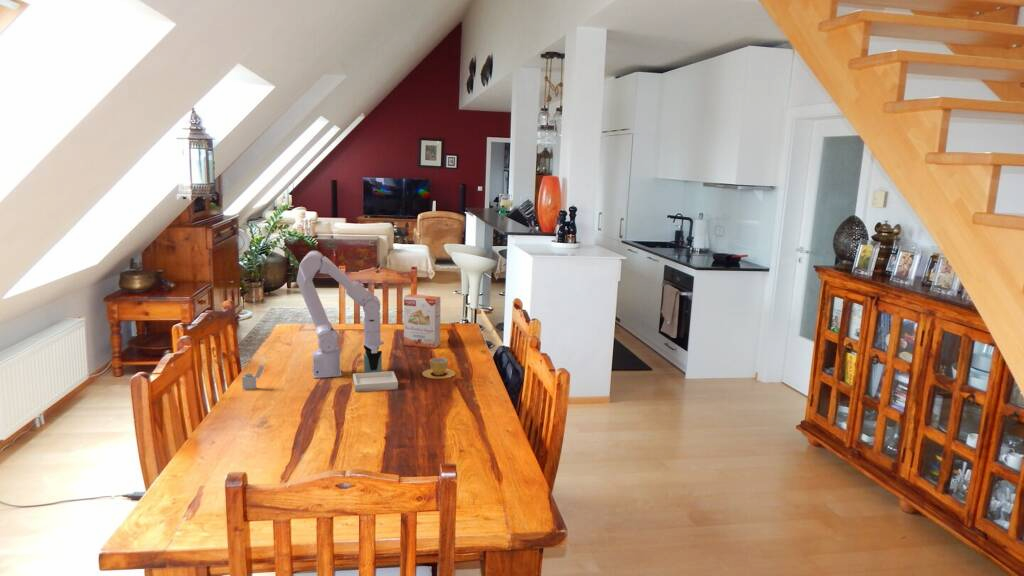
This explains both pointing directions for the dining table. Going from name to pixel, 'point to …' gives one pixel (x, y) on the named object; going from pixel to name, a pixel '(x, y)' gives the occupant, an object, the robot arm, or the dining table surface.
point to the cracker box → (422, 321)
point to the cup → (438, 369)
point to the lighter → (251, 379)
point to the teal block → (367, 366)
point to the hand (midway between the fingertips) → (372, 367)
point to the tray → (375, 381)
